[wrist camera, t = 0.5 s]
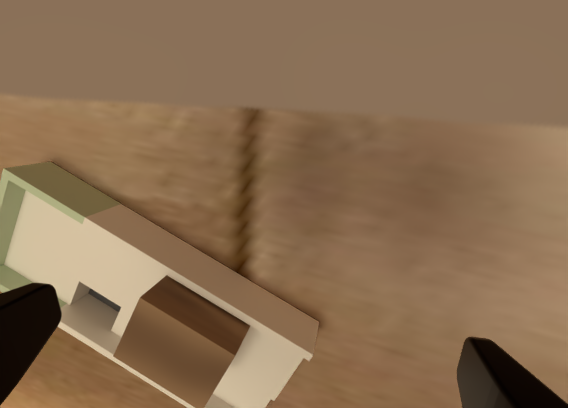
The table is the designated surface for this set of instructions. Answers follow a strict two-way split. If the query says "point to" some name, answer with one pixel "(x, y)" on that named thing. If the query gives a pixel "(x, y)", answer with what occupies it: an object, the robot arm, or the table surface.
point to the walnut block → (181, 341)
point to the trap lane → (137, 278)
